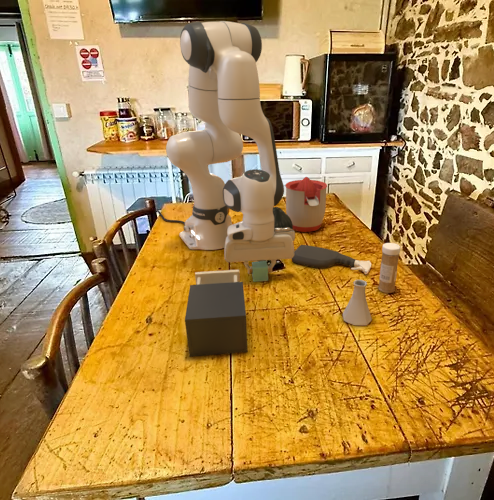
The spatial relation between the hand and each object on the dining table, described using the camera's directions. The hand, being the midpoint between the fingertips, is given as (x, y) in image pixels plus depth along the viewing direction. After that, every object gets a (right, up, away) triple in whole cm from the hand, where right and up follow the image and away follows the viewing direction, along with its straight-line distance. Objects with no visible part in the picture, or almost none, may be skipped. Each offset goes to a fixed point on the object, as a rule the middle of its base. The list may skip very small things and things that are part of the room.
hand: (259, 272), depth 117 cm
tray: (-10, -8, -15) cm, 19 cm away
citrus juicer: (+17, +15, +37) cm, 43 cm away
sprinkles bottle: (+35, -4, -7) cm, 36 cm away
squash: (+4, +9, +23) cm, 25 cm away
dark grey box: (-9, -13, -24) cm, 29 cm away
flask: (+24, -10, -19) cm, 33 cm away
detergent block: (0, -2, +1) cm, 2 cm away
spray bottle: (+22, +2, +9) cm, 24 cm away
